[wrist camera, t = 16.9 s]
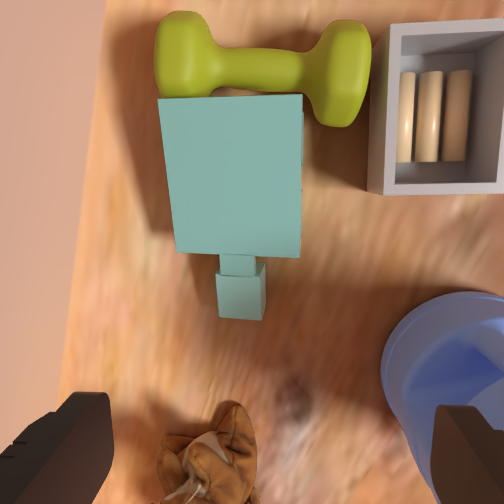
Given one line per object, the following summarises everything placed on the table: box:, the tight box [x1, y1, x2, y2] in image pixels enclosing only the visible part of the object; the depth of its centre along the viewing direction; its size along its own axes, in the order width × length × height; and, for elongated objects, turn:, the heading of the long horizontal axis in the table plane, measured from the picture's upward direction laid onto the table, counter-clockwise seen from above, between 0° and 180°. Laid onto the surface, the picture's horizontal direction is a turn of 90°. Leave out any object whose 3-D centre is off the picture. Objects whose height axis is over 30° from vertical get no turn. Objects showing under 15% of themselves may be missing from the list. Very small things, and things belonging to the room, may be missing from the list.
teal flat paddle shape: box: [157, 94, 304, 321], centre depth 34 cm, size 19×11×3 cm, turn 1°
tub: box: [367, 18, 504, 195], centre depth 31 cm, size 12×9×6 cm
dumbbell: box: [154, 11, 372, 127], centre depth 31 cm, size 16×8×7 cm, turn 85°
